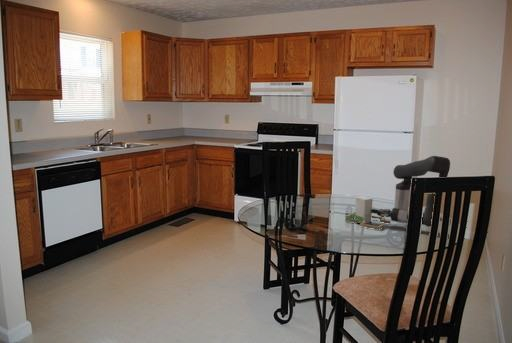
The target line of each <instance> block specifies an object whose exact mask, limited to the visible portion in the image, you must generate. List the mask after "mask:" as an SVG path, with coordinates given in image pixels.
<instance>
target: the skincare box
mask: <svg viewBox="0 0 512 343" xmlns="http://www.w3.org/2000/svg"><path fill="white" fill-rule="evenodd" d="M373 201H374V200H373V198H371V197H369V196H364V195H361V196H356V197H355V211H354V212H355V219H358V220H359V221H365V222H366V223H369V222H371V223H372V221H371V216H373V215H372V214H373V213H371V210H372V209H373ZM369 224H370V223H369Z"/></svg>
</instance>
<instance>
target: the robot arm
mask: <svg viewBox="0 0 512 343" xmlns="http://www.w3.org/2000/svg"><path fill="white" fill-rule="evenodd" d="M450 169H451V160H450V159H449V158H448V157H444V156H437V155H432V156H429V157H427V158H425V159H420V160H416V161H413V162H409V163H406V164H399V165H396V166H395V167H394V168H393V175H394V177H395V178H396V179H398V180H402V181H401V182H399V183H396V184H395V195H394V207H392V208H391V209H390V208H389V209H388V208H387V209H386V208H380V209H376V208H372V210H371V213H372V214H376V216H378V217H384V218H390V221H393V222H399V223H404V224H405V223H406V224H407V219H408V207H409V208H410V202H409V196H410V197H411V187H412V183H411V179H412V180H413V177H422V176H425V175H426V174H427V173H428V172H431V173H437V174H438V178H439V177H447V178H448V174H449V171H450ZM434 196H435V194H433V193H432V194H428V193H427V197H426V202H425V207H424V208H425V209H424V211H423V212H422V213H423V217H422V224H421V226H422V225H424V226H426V227H428V228H429V227H430V226H431V219H432V212H433V204H434ZM431 227H432V226H431ZM431 227H430V228H431Z"/></svg>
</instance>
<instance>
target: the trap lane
mask: <svg viewBox="0 0 512 343" xmlns="http://www.w3.org/2000/svg"><path fill="white" fill-rule="evenodd" d="M371 217H372V218H379V219H380V222H384V223H390V224H391V220H387V219H386V217H385V216H384V217H381V216H378V215H371ZM352 218H355V211H353V212H351V213H349V214H347V215H345V222H346V221H347V222H346V223H348V222H354V223H360V225H359V227H360V226H362V227H367V228H374V229H378V230H377V231H380V230H379V229H381V228H383V229H385V224H383V223H380V222H379V223H380V225H378V226H377V225H371V224H366V222H365V221H359V220H358V219H352ZM354 223H353V224H354ZM362 227H361V228H362ZM367 228H366V229H367ZM381 230H382V229H381Z"/></svg>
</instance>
